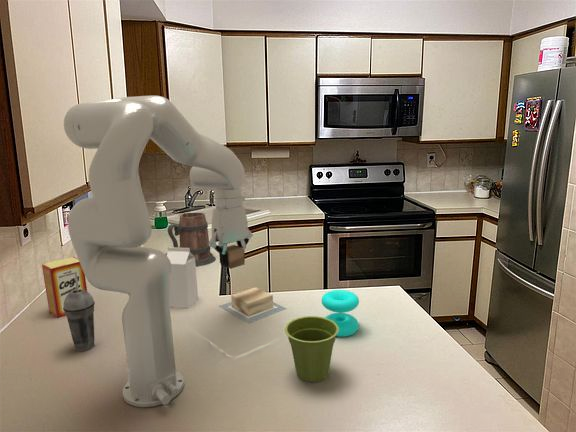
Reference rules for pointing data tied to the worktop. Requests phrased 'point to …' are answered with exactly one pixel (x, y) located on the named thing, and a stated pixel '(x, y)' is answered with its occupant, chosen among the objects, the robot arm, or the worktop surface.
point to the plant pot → (312, 346)
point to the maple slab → (252, 301)
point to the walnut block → (235, 256)
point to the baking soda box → (62, 282)
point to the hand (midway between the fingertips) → (232, 263)
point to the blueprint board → (254, 317)
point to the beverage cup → (80, 317)
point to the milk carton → (182, 278)
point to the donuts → (342, 310)
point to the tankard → (193, 237)
